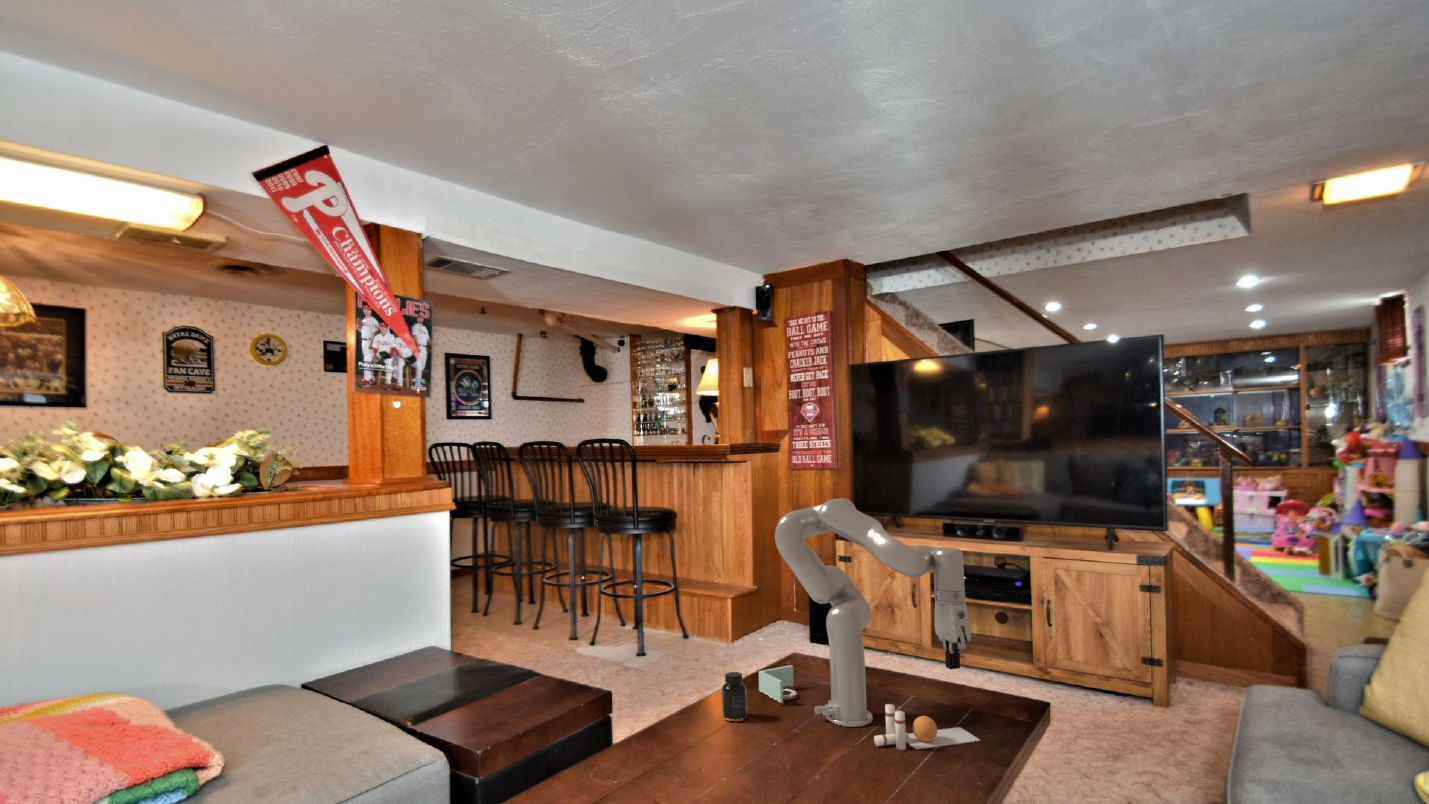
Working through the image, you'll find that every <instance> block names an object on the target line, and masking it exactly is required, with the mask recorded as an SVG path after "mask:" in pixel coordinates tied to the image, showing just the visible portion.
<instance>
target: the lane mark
mask: <svg viewBox="0 0 1429 804" xmlns="http://www.w3.org/2000/svg"><path fill="white" fill-rule="evenodd" d="M908 735H909V738H910V741H909V742H908V743H907V744H909V746H910V747H912V748H914V749H915V750H922V749H930V748H938V747H945V746H953V745H960V744H967V743H975V741H976V742H981V739H979V738H978V737H977V736H975V735H973V734H972V733H970V732H968V731H967V730H965V729H964V728H962V727H961V726H958V727H951V728H950V727H949V728H943V729H937V735H936V737H935V738H934V739H933V740H932V741H930V742H923V741H921V740H919V739H918V738H917V737H916V736H915V735H914V732H912V733H908Z"/></svg>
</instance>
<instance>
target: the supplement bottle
mask: <svg viewBox="0 0 1429 804" xmlns="http://www.w3.org/2000/svg"><path fill="white" fill-rule="evenodd" d="M724 682H725V683H723V685H722V687H721V699H722V700H721V703H722V704H721V705H722V717H723V716H724V717H725V718H729V719H735V720H736V719H741V718H745V717H746V716H747V717H748V705H747V704H748V703H747V686H746V684H745V683H743V673H741V672H737V671H731V672H727V673H725V675H724Z"/></svg>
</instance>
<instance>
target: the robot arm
mask: <svg viewBox="0 0 1429 804" xmlns="http://www.w3.org/2000/svg"><path fill="white" fill-rule="evenodd" d="M829 532H834V533H835V534H837V535H838V536H841V537H843V538H845V539H847V540H848V541H850V542H852V543H854V544H855V545H857V546H859V547H861V548H862V549H864V550H865V551H866V552H867V553H868V554H870V555H871V557H873V558H875V559H876V560H877V561H879V562H880V563H881V564H883V565H885V566H886V567H888V568H889V569H891V570H893V571H895V572H897V573H899V574H901V575H903V576H905V577H908V578H912V579H918V578H921V577H923V576H924V575H926V574H928V573H933V587H934V601H935V602H934V603H935V604H934V632H935V634H936V635H937V637H938V640H939V641H940V642H941V643H942V645H943V651H944V655H945V668H947V669H949V670H956V669H960V668H961V655H960V654H961V652H962V650H966V648H967V645H966V643H970V642H972V635H971V624H970V623H971V622H970V616H969V610H968V606H967V603H966V592H965V591H966V589H965V572H964V555H963V552H962V550H961V549H960V548H958V547H951V546H950V547H949V546H941V547H938V546H937V547H936V546H932V545H931V546H929V545H924V544H916V545H914V546H910V545H907V544H906V543H903V542H902V541H900V540H898V539H897V538H894V537H893V536H892V535H890V534H889V533H888V532H887V531H886V530H885V528H884V527H883V525H882V524H881V522H880V521H879V520H878V519H876V518H873V517H871V516H869V515H867V514H865V513H863V512H862V511H859V510H858V509H857V508H856V506H855V505H854V503H853V502H852V501H850V500H849V499H846V498H844V497H843V498H842V497H838V498H834V499H829V500H826V501H825V502H824V503H821V504H818V505H815V506H814V505H813V506H810V507H806V508H803V509H797V510H796V509H795V510H792V511H789V512H787V513H785V514H784V515H783V516H782V517H781V518H780V519H779V521H778V523H777V525H776V526H775V531H774V541H775V546H776V548H777V550H778V553H779V555H780V556H781V557H782V559H783V560H784V561H785V563H786V564H787V565H788V567H789V568H790V569H791V570H792V572H793V574H794V575H795V577H796V578H797V580H798V581H799V583H800V584H801V585H802V587H803V588H804V590H805V591H806V592H807V594H808V596H809V597H810V598H811V600H812V601H814V602H815V603H818V604H820V605H823V604H828V603H830V605H831V608H830V609H829V611H828V613H827V615H826V619H825V620H826V621H825V624H826V633H827V637H828V639H827V640H828V646H829V647H828V649H829V668H830V669H829V670H830V695H831V696H830V699H828V700H827V703H826V704H825V705H818V706H817V705H816V706H814V713H815V715H817V714H818V715H819V714H823V717H824V716H825V718H826V720H827V719H828V720H829V721H831V722H832V723H831V722H830V723H831V724H833V723H834V724H833V725H836V724H837V725H836V726H840V725H841V726H842V727H847V728H848V727H849V728H850V727H851V728H852V727H853V728H855V727H864V726H867V725H869V724H871V723H872V722H873V720H874V719H873V718H874V717H873V714H872V712H870V711H869V710H867V687H866V686H867V685H866V683H867V682H866V661H865V660H866V659H865V648H864V641H863V635H862V631H863V630H864V629H865V628H867V627H868V625H870V622H871V620H872V616H873V615H872V614H873V613H872V610H871V609H872V608H871V607H870V605H869V602H868V601H867V599H866V598H865V597H864V595H863V594H862V592H860V590H859V589H858V587H857V586H856V584H855V583H854V582H853V580H852V579H851V578H850V576H849V575H848V574H847V573H846V572H845V571H844V570H843V569H841V568H840V567H838V566H835V565H825V564H824V563H823V561H822V560H821V558H820V557H819V555H818V554H817V553H816V551H814V549H813V548H811V547H810V546H809V545H808V544H807V542H806V539H809V538H811V537H814V536H819V535H822V534H826V533H829ZM828 720H827V721H828ZM829 721H828V722H829ZM841 726H840V727H841Z"/></svg>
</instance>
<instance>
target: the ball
mask: <svg viewBox="0 0 1429 804" xmlns="http://www.w3.org/2000/svg"><path fill="white" fill-rule="evenodd" d="M937 730H938V726H937V723H936V722H935V721H934V720H933V718H931V717H929V716H928V715H921V716H918V717H916V718H915V719H914V721H913V724H912V731H913V732H912V733H914V735H915V736H916V737H917V738H918V739H919V740H921V741H923V742H930V741H932V740H933V739H934V738H935V737H936V735H937Z"/></svg>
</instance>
